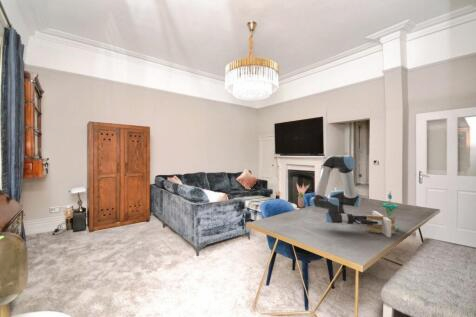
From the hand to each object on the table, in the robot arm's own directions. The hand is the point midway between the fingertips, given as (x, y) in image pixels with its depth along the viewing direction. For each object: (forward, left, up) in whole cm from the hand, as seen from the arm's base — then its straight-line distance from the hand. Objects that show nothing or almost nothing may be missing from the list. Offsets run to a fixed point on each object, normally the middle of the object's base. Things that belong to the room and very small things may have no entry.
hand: (379, 220), depth 161 cm
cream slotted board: (-4, +3, -8) cm, 10 cm away
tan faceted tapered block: (0, +1, -8) cm, 9 cm away
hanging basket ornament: (-11, +12, -9) cm, 18 cm away
